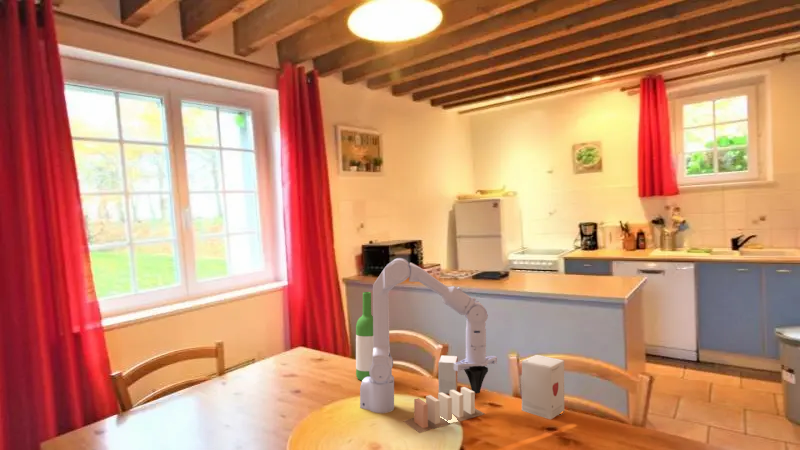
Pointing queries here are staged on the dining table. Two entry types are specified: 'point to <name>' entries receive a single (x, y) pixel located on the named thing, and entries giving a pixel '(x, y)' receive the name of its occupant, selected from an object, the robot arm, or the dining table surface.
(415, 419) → the domino
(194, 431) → the dining table surface
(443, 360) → the small box
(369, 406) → the robot arm
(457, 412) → the domino
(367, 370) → the wine bottle
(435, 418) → the domino
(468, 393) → the domino
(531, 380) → the supplement box
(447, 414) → the domino
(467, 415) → the board
